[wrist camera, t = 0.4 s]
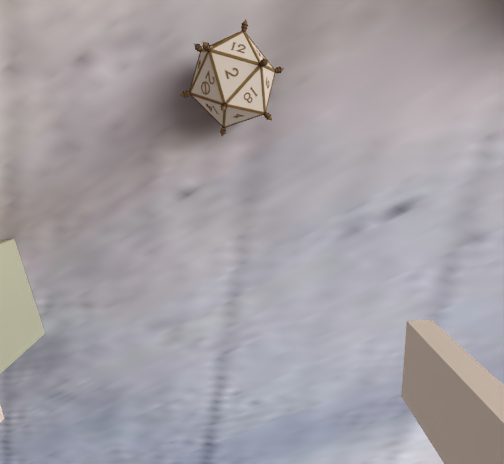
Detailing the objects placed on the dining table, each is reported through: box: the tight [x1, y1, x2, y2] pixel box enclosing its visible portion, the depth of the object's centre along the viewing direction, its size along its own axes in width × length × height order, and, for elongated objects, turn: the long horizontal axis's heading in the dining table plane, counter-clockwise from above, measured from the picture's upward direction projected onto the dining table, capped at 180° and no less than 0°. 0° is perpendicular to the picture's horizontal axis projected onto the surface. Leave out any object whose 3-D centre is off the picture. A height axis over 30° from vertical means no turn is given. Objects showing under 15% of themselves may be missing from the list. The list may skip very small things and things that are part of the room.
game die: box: [180, 20, 283, 136], centre depth 30 cm, size 9×8×10 cm
